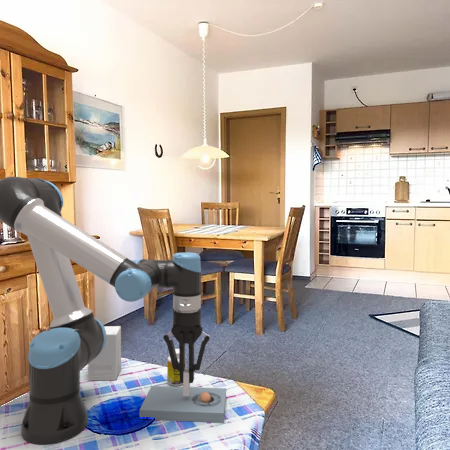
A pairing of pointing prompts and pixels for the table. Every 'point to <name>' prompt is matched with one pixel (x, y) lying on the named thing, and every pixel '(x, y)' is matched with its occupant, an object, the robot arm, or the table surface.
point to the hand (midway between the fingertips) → (186, 393)
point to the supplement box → (107, 357)
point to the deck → (184, 404)
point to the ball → (205, 397)
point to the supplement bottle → (173, 372)
